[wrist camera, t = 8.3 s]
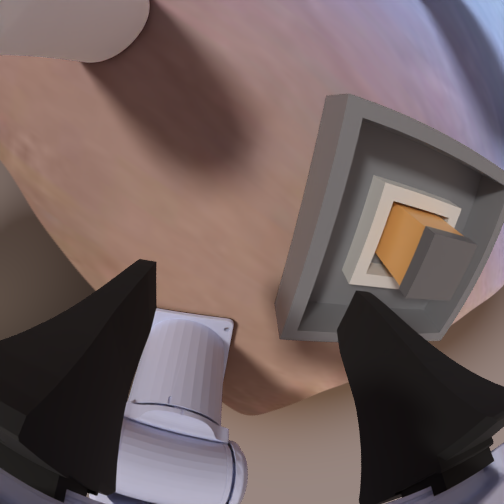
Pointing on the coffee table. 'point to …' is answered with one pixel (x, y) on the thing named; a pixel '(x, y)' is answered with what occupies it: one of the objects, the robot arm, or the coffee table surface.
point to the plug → (423, 253)
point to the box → (380, 217)
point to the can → (70, 28)
